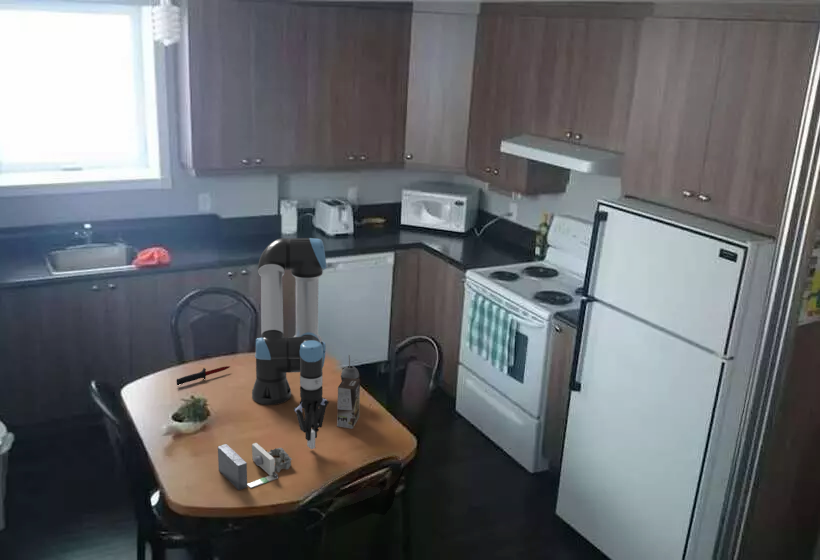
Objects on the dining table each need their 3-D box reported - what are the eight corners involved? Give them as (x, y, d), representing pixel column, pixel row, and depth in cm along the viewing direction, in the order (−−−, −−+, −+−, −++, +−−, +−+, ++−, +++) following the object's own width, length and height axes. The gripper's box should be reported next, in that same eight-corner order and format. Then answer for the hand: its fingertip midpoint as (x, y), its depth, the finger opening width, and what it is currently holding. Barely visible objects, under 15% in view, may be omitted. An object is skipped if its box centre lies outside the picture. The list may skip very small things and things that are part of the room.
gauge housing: (218, 470, 260) (217, 446, 257) (255, 457, 268) (254, 434, 266) (240, 492, 249) (240, 467, 246) (278, 478, 257) (277, 454, 254)
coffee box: (353, 429, 289) (354, 389, 284) (336, 426, 291) (337, 387, 285) (359, 417, 298) (360, 378, 293) (343, 415, 299) (344, 376, 294)
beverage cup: (344, 408, 304) (345, 361, 297) (337, 400, 310) (338, 354, 303) (361, 405, 307) (363, 358, 301) (354, 397, 313) (355, 351, 307)
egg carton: (259, 459, 268) (259, 449, 267) (280, 454, 272) (280, 443, 271) (272, 474, 260) (272, 464, 258) (293, 468, 264) (293, 458, 262)
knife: (178, 388, 314) (177, 376, 312) (176, 386, 315) (175, 375, 313) (231, 372, 329) (231, 361, 328) (229, 371, 330) (229, 360, 329)
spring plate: (248, 461, 266) (247, 445, 264) (256, 458, 268) (256, 442, 266) (269, 480, 255) (269, 464, 253) (278, 477, 257) (277, 461, 255)
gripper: (300, 395, 260) (300, 457, 267) (333, 385, 267) (332, 445, 275) (288, 386, 265) (289, 448, 273) (321, 376, 273) (321, 436, 281)
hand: (311, 446), depth 274 cm, fingers closed
